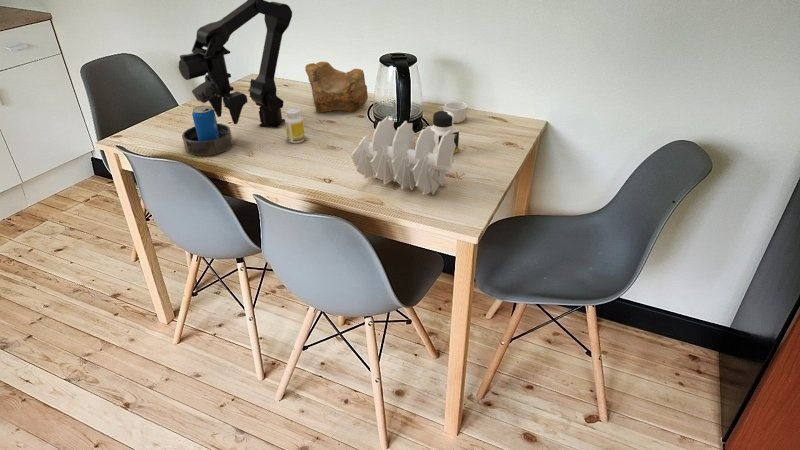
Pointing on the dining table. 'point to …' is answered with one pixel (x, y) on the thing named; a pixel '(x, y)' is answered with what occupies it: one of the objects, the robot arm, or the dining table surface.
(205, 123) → the beverage can
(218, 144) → the dark grey bowl
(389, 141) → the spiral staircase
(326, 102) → the rough brown rock
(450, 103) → the teacup
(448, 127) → the medicine bottle
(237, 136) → the dining table surface
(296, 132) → the supplement bottle
